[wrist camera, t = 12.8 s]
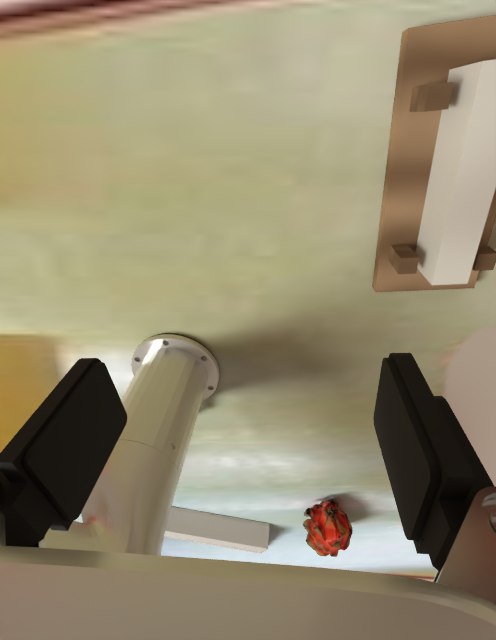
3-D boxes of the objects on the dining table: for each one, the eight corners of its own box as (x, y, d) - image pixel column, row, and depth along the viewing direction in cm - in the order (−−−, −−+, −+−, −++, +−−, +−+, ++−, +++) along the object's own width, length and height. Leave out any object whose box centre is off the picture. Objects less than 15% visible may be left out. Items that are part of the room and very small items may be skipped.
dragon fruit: (316, 515, 68) (324, 475, 63) (354, 544, 63) (366, 503, 58) (293, 546, 62) (300, 505, 57) (333, 581, 57) (344, 539, 52)
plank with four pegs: (467, 281, 35) (491, 304, 31) (372, 286, 37) (383, 308, 33) (545, 11, 24) (602, -11, 19) (402, 32, 25) (425, 16, 21)
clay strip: (444, 261, 33) (467, 283, 29) (413, 263, 33) (431, 285, 29) (492, 64, 24) (535, 54, 20) (449, 69, 25) (482, 60, 21)
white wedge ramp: (263, 528, 76) (269, 521, 69) (261, 553, 73) (267, 548, 66) (121, 504, 76) (112, 494, 69) (113, 527, 73) (103, 520, 66)
